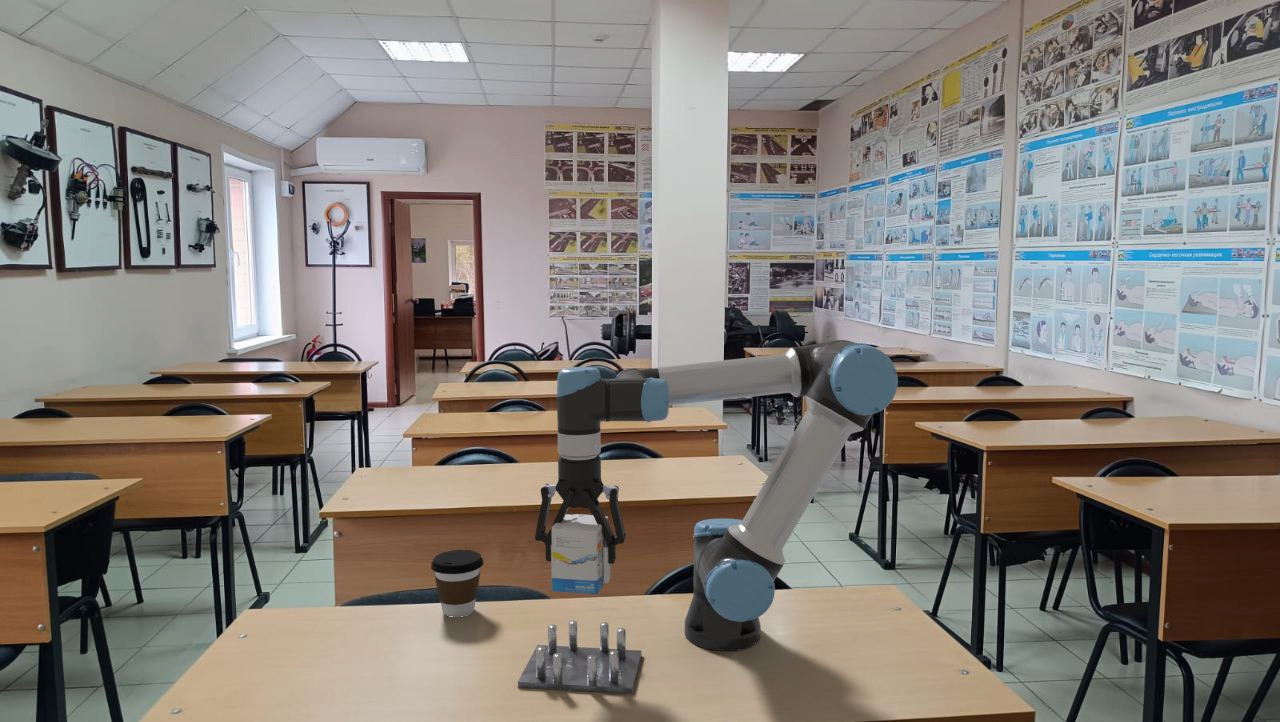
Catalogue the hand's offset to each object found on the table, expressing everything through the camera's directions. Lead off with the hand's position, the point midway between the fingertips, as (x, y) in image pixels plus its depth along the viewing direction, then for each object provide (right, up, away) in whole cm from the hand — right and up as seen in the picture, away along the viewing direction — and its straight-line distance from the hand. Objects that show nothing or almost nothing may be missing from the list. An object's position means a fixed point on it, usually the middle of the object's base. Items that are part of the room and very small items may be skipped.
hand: (581, 579), depth 140 cm
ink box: (0, -1, 0) cm, 1 cm away
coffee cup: (-28, -15, +27) cm, 42 cm away
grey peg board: (0, -17, +2) cm, 17 cm away
